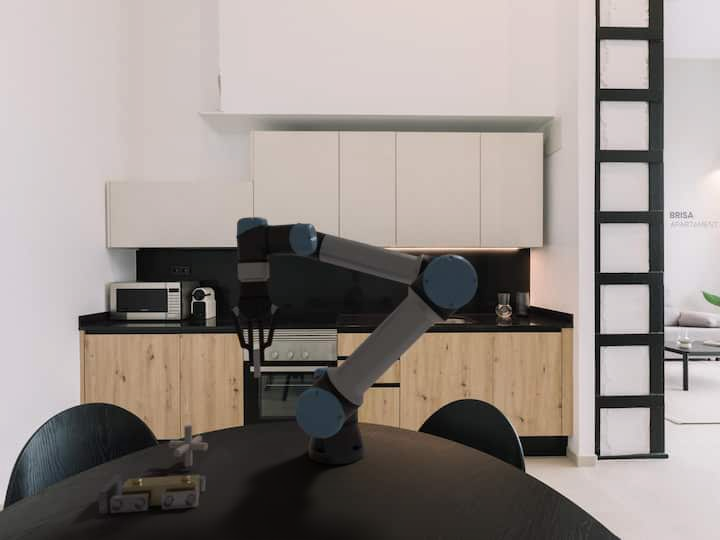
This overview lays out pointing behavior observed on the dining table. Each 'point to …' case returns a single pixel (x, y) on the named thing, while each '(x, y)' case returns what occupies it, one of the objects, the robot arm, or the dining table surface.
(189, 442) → the pipe connector
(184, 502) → the chain end
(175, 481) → the link
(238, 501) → the dining table surface
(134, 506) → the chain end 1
